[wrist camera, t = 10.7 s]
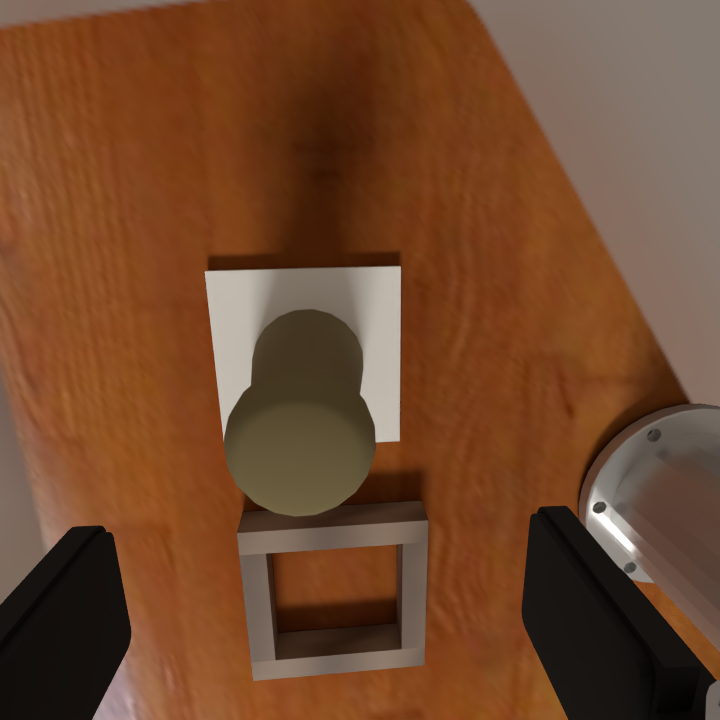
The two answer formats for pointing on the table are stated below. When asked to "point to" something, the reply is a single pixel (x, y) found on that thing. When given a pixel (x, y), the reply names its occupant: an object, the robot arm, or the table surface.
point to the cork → (302, 417)
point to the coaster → (319, 292)
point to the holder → (338, 645)
